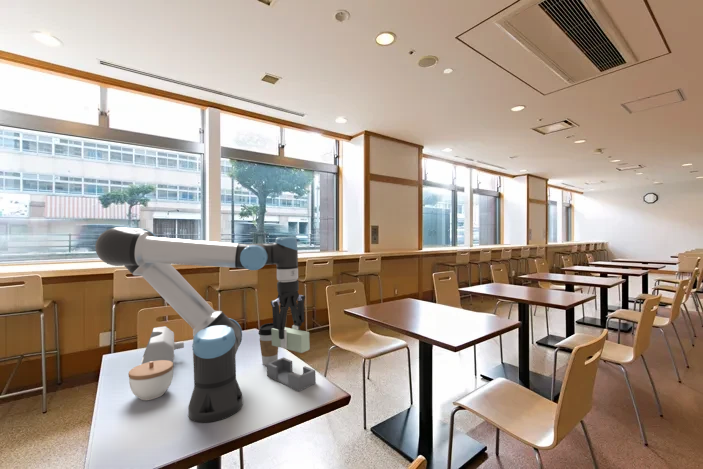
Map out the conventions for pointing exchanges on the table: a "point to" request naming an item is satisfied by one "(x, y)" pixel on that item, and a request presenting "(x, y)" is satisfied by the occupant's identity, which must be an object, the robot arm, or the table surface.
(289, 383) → the grey holder tray
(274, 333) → the block
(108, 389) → the table surface
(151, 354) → the tank
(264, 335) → the coffee cup
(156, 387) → the lidded bowl
